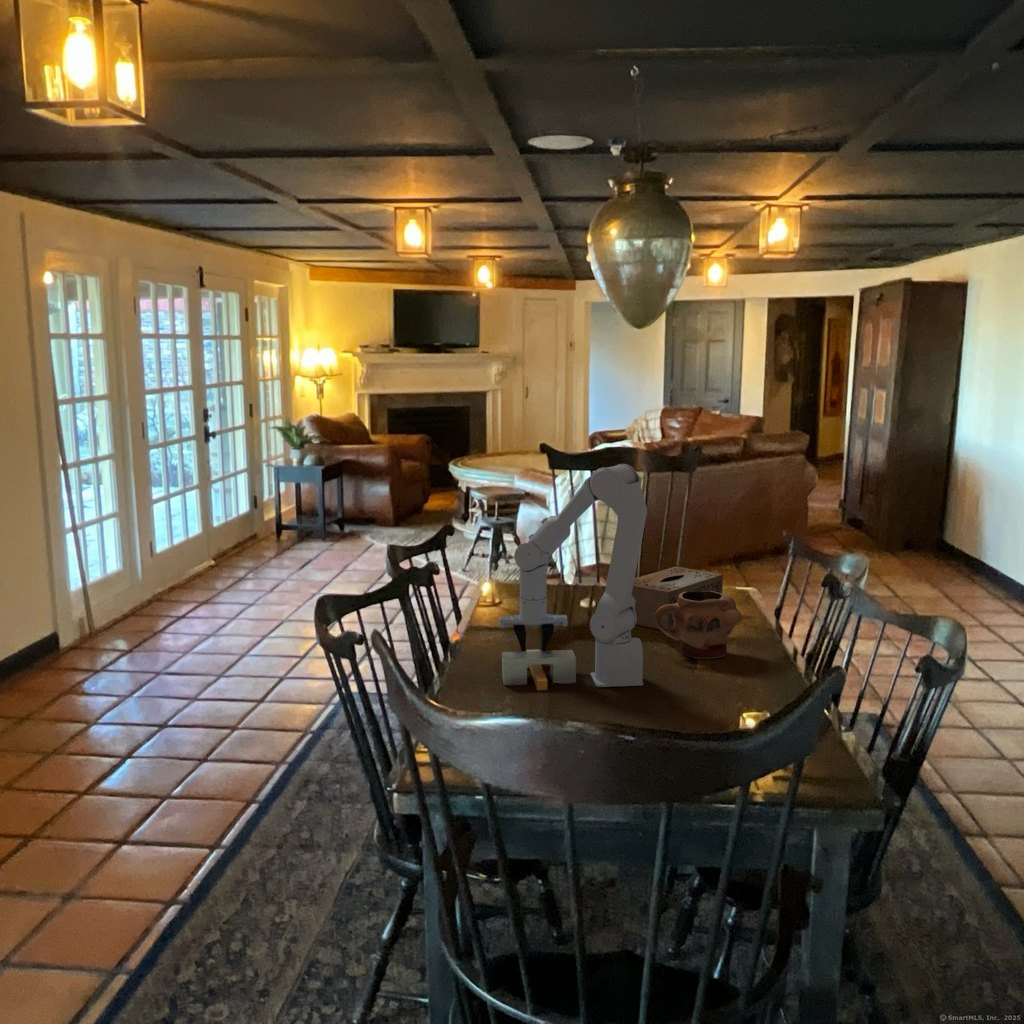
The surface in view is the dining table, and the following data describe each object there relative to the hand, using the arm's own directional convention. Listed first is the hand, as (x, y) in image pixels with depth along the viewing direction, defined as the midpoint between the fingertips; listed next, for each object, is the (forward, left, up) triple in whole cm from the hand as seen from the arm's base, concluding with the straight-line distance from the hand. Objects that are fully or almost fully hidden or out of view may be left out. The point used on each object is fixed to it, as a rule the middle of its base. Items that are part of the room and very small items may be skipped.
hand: (533, 658), depth 198 cm
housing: (0, +10, -2) cm, 10 cm away
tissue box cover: (-40, -36, -2) cm, 54 cm away
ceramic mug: (-37, -3, -2) cm, 37 cm away
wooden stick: (0, +7, -2) cm, 7 cm away
